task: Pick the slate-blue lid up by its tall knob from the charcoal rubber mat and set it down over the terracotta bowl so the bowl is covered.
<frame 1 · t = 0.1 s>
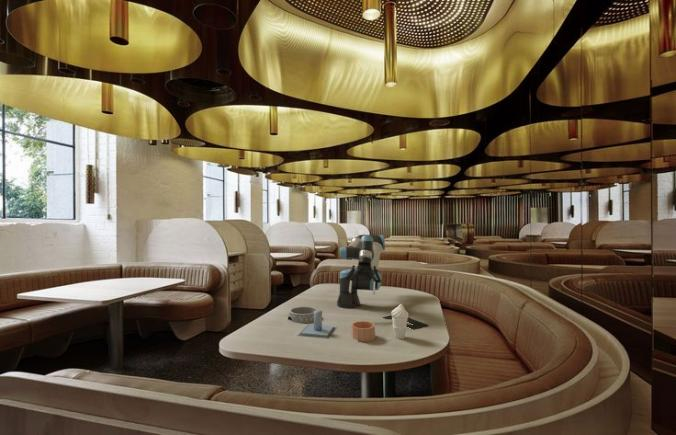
hand: (361, 292, 181), 15 cm above the table, tool tilted 35°, fingers open, 13 cm apart
black flat irregular plate: (403, 322, 178), on the table
lid: (317, 331, 161), point 1 cm above the table, touching mat
mat: (317, 332, 161), on the table
dog bowl: (303, 319, 183), on the table
soft serve ice cream cone: (399, 337, 155), on the table
bowl: (363, 337, 155), on the table
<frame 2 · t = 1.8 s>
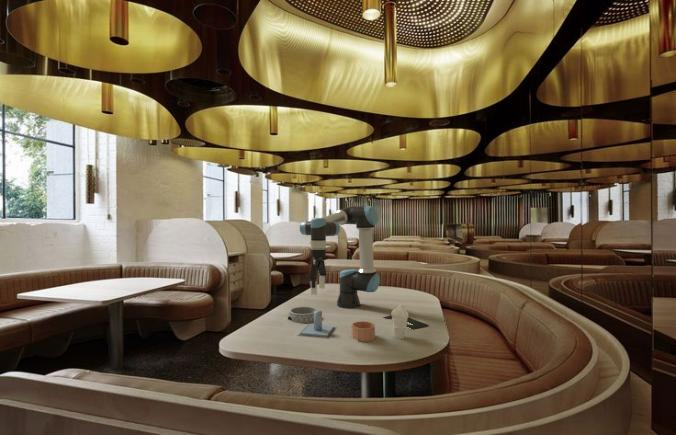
hand: (318, 291, 161), 21 cm above the table, tool pointing down, fingers open, 13 cm apart
nothing on the table moved.
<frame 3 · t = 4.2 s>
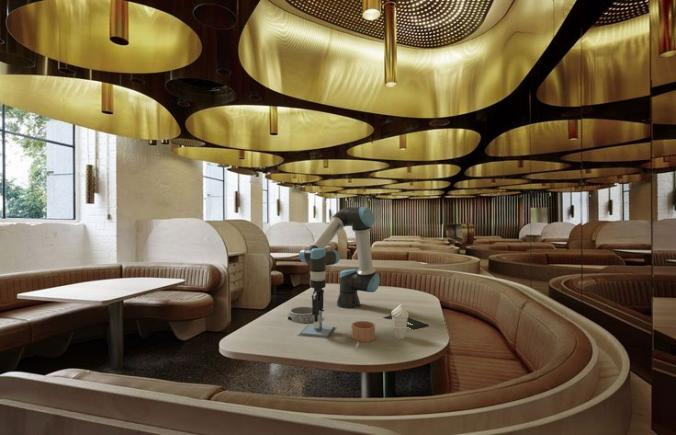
hand: (317, 326, 161), 3 cm above the table, tool pointing down, fingers closed on lid, 4 cm apart
lid: (317, 331, 161), point 1 cm above the table, touching gripper, mat
everything else where it was.
when the fingers open (10 cm above the table, at t = 9.5 s): lid drops 2 cm, resting on bowl.
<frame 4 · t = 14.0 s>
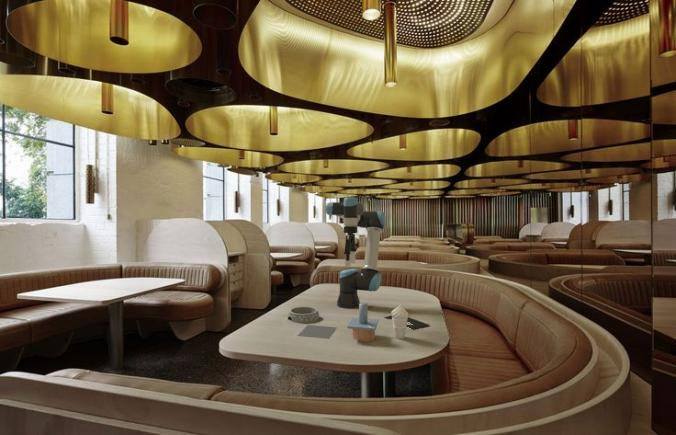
hand: (350, 264, 176), 32 cm above the table, tool pointing down, fingers open, 13 cm apart
lid: (363, 324, 155), point 6 cm above the table, touching bowl
everything else where it was.
at the end: lid 0.0 cm off-centre on the bowl, point 6.0 cm above the bowl's base; lid tilted 0°; the gripper is holding nothing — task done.
